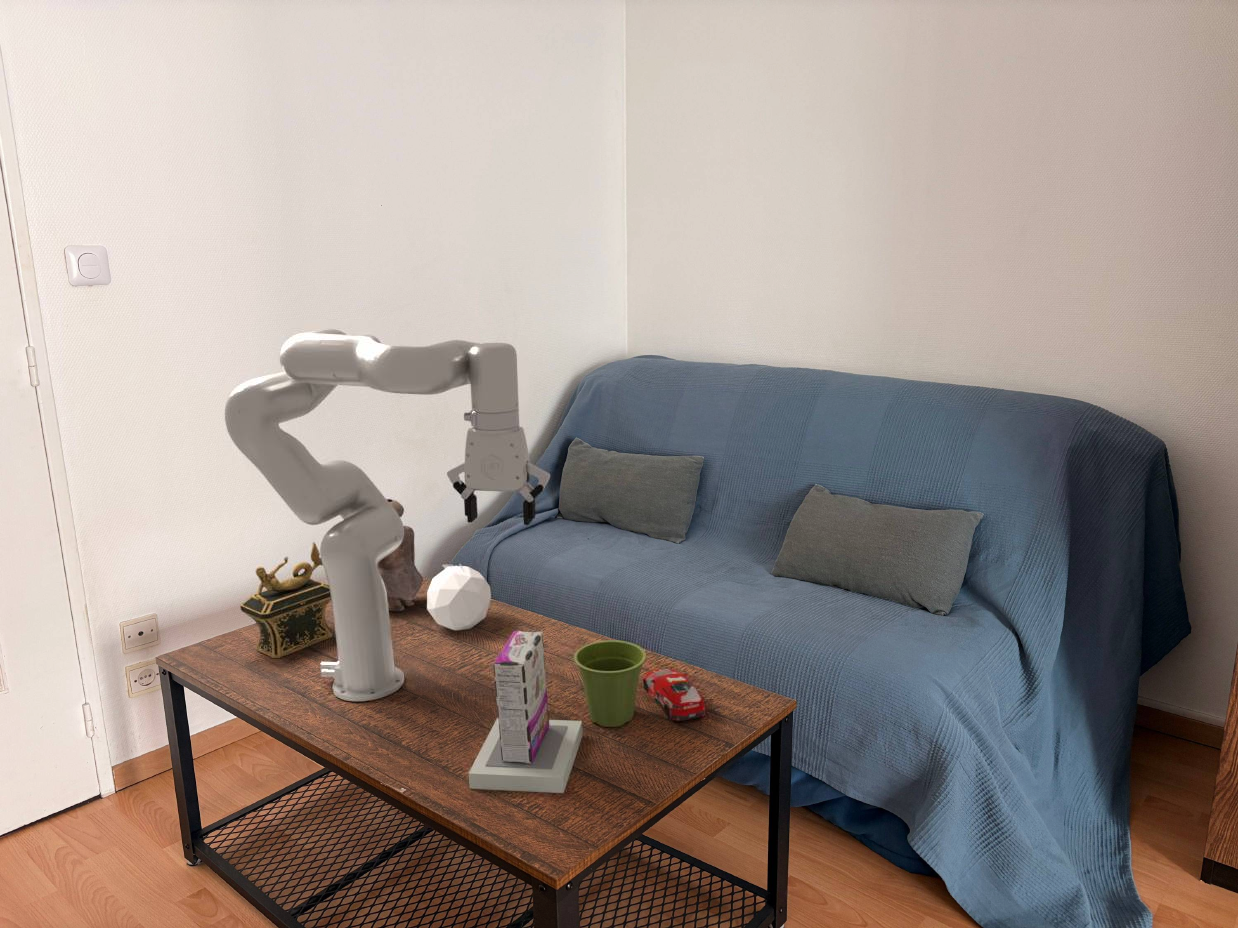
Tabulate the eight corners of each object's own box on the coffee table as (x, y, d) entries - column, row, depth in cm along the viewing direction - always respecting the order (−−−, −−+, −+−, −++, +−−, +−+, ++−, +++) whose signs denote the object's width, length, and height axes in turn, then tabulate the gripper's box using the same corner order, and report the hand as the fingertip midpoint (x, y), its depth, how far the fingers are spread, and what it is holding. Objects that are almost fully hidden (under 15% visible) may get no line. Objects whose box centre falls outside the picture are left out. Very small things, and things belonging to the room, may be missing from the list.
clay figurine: (403, 594, 210) (393, 489, 204) (436, 601, 205) (426, 494, 199) (361, 614, 199) (349, 504, 193) (395, 622, 194) (383, 510, 188)
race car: (639, 685, 164) (638, 659, 162) (673, 678, 166) (673, 653, 164) (672, 728, 148) (671, 700, 147) (710, 720, 151) (709, 693, 149)
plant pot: (592, 742, 145) (589, 677, 142) (566, 709, 155) (563, 648, 153) (659, 725, 149) (658, 661, 146) (630, 694, 160) (628, 634, 157)
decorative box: (270, 664, 176) (257, 568, 172) (244, 651, 183) (231, 558, 178) (358, 629, 191) (348, 540, 187) (331, 618, 197) (321, 532, 193)
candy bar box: (519, 724, 146) (513, 629, 142) (550, 726, 145) (544, 630, 141) (499, 763, 135) (491, 661, 131) (531, 765, 134) (525, 662, 130)
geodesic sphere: (400, 601, 191) (422, 558, 183) (449, 581, 201) (472, 540, 194) (441, 652, 186) (465, 611, 178) (489, 629, 196) (514, 589, 189)
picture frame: (469, 788, 134) (468, 771, 133) (498, 731, 149) (497, 716, 148) (563, 792, 132) (562, 776, 131) (582, 734, 147) (581, 719, 146)
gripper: (436, 423, 145) (442, 526, 149) (541, 426, 142) (545, 530, 146) (453, 414, 152) (458, 512, 157) (553, 417, 149) (556, 517, 154)
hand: (500, 521), depth 151 cm, fingers open, 9 cm apart
